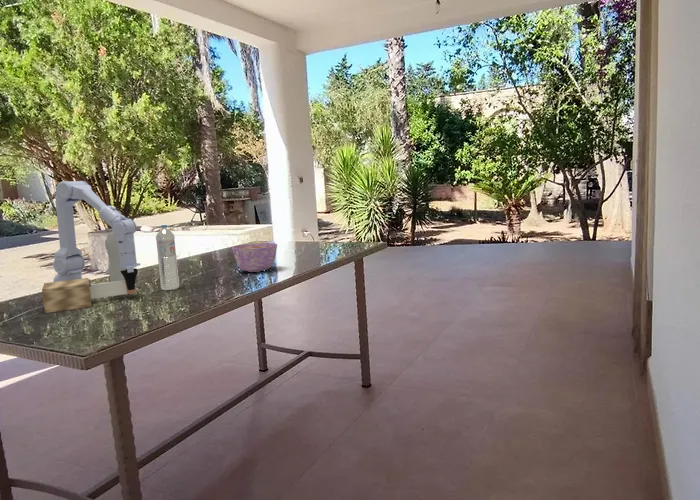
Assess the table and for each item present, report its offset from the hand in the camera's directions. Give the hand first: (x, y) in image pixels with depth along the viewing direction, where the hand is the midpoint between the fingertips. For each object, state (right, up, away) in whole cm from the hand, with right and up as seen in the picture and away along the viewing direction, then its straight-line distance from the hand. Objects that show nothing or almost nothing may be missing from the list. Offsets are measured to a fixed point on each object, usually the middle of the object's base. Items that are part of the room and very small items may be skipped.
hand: (131, 289), depth 192 cm
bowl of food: (+39, +5, +42) cm, 57 cm away
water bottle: (+10, -1, +12) cm, 16 cm away
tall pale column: (-18, 0, +33) cm, 37 cm away
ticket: (-7, -2, -3) cm, 8 cm away
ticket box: (-18, -5, -9) cm, 21 cm away
